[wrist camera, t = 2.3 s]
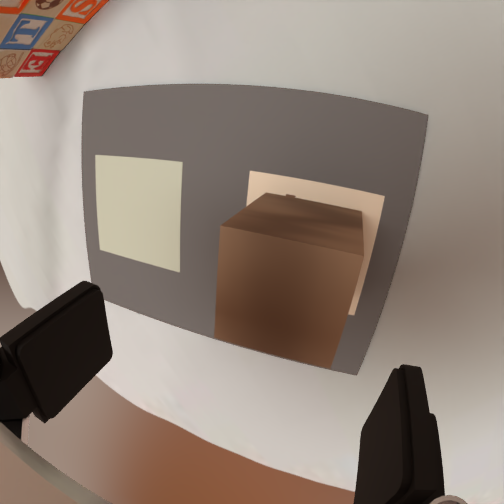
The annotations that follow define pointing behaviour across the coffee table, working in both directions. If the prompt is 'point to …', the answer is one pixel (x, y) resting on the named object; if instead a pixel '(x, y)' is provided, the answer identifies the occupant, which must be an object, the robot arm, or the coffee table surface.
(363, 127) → the mat
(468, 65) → the coffee table surface
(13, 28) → the stack of blocks
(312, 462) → the coffee table surface
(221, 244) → the walnut block
